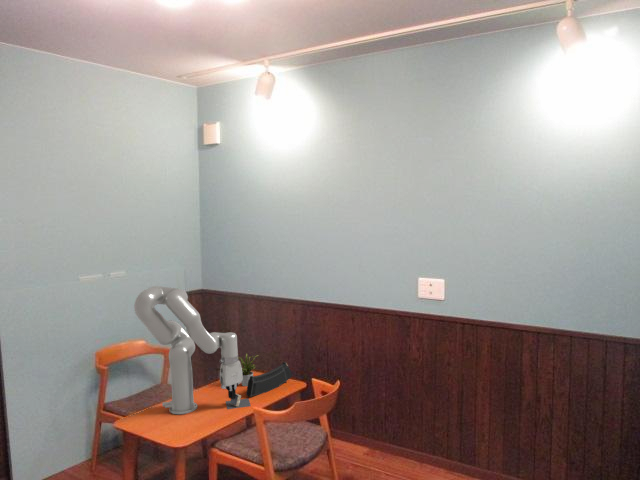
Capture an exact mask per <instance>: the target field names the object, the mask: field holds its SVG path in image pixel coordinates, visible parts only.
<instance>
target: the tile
mask: <svg viewBox="0 0 640 480" xmlns="http://www.w3.org/2000/svg"><path fill="white" fill-rule="evenodd" d="M241 398H242V395H241V394H238V393H236V396H235V399H230V400H229V401H230V404H232V405H234V406H238V407H239V403H240V399H241Z"/></svg>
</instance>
